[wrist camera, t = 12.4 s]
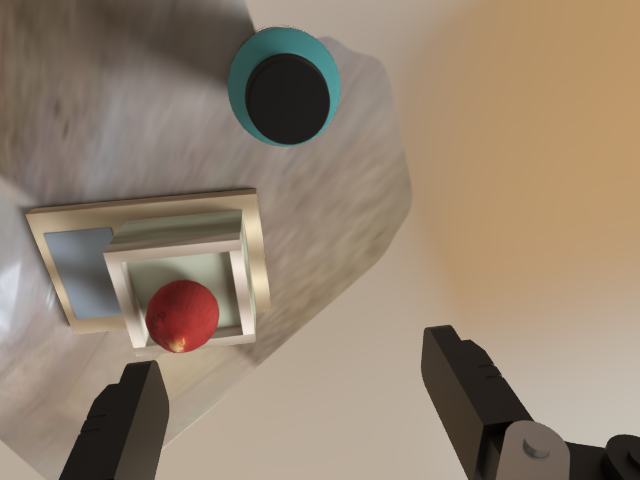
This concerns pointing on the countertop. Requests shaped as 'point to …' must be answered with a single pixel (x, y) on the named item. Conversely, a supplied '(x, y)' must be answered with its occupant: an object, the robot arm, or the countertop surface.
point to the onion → (182, 316)
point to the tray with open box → (156, 260)
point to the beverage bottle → (283, 86)
